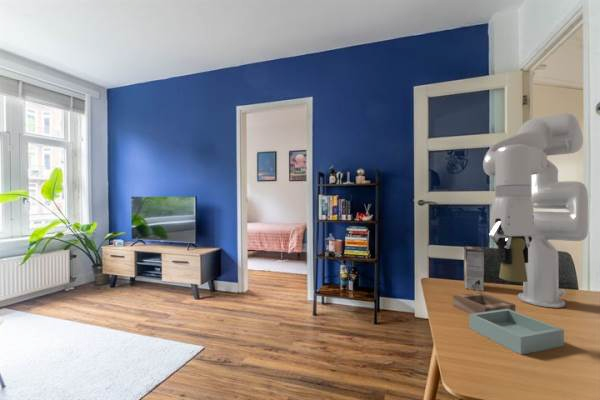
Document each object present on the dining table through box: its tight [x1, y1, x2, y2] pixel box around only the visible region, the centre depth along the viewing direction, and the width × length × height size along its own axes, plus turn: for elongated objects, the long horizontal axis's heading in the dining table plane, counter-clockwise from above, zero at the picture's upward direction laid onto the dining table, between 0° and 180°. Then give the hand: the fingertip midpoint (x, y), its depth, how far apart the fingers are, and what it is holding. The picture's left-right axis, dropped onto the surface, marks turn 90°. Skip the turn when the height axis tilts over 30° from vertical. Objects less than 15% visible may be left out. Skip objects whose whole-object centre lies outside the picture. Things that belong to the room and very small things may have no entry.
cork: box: [498, 237, 528, 283], centre depth 74 cm, size 6×6×11 cm
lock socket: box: [452, 292, 516, 314], centre depth 91 cm, size 12×12×4 cm
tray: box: [468, 309, 565, 355], centre depth 74 cm, size 14×14×4 cm
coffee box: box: [463, 245, 485, 292], centre depth 117 cm, size 9×6×16 cm
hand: (513, 261), depth 74 cm, fingers closed on cork, 4 cm apart
